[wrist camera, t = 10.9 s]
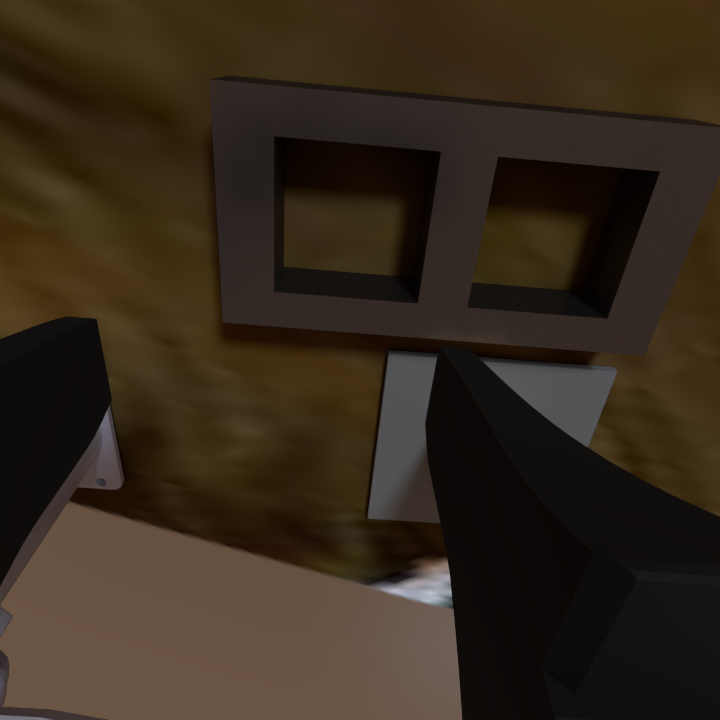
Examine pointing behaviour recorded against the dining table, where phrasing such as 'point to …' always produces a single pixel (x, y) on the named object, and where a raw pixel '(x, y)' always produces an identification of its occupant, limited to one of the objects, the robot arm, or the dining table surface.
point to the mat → (409, 409)
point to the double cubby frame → (457, 214)
